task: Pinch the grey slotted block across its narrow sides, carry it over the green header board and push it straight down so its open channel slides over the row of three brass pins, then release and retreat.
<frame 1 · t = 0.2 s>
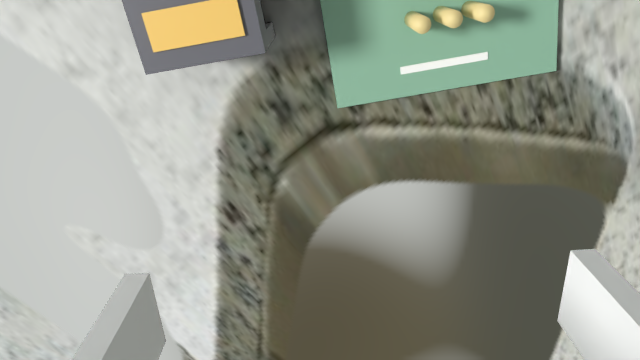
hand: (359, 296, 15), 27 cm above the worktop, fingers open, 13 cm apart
grey slotted block: (218, 12, 37), on the worktop
header board: (438, 13, 37), on the worktop
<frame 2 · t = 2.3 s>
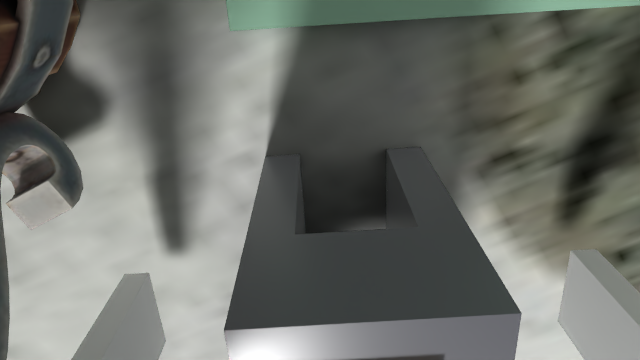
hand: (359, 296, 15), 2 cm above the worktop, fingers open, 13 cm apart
grey slotted block: (347, 256, 17), on the worktop
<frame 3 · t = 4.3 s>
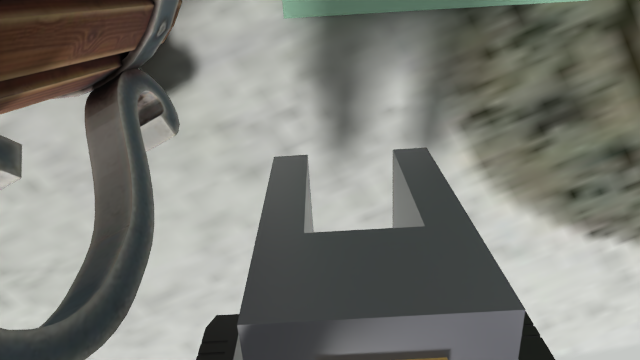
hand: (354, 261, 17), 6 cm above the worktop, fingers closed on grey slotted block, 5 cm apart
grey slotted block: (353, 255, 17), point 6 cm above the worktop, touching gripper
mug: (101, 10, 20), on the worktop
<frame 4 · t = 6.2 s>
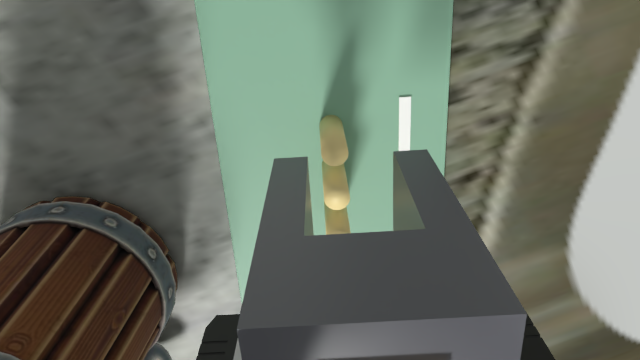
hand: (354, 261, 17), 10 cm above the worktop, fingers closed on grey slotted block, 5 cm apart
grey slotted block: (354, 257, 17), point 10 cm above the worktop, touching gripper
mug: (120, 297, 29), on the worktop
header board: (332, 161, 26), on the worktop
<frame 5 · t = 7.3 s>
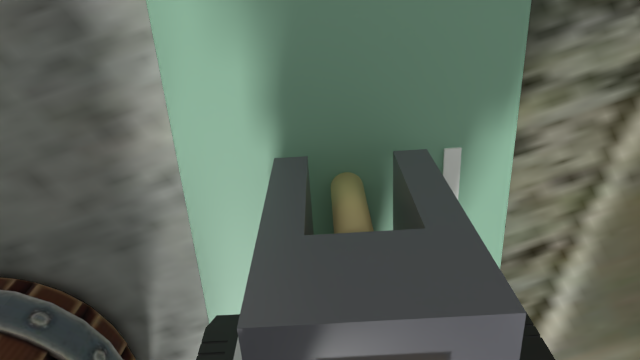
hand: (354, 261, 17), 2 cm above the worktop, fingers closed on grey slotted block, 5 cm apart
grey slotted block: (354, 256, 17), point 2 cm above the worktop, touching gripper
header board: (347, 230, 19), on the worktop
when the fingers open (2 cm above the worktop, at t = 8.3 s): grey slotted block stays where it is, resting on header board.
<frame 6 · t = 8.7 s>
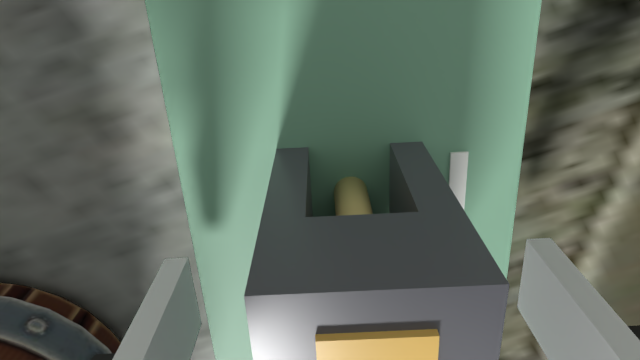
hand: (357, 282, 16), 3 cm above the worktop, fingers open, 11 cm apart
grey slotted block: (351, 244, 18), point 1 cm above the worktop, touching header board
header board: (351, 236, 18), on the worktop
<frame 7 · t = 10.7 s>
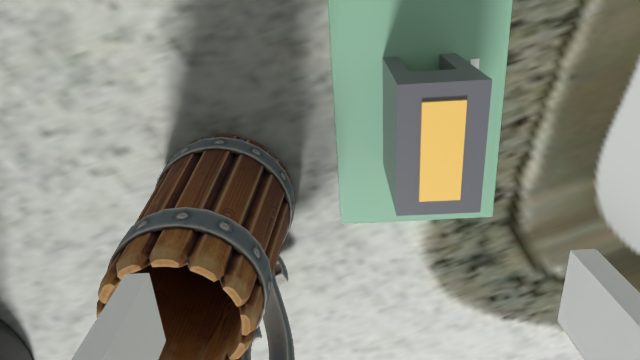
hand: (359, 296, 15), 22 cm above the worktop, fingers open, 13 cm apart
grey slotted block: (417, 111, 34), point 1 cm above the worktop, touching header board
mug: (248, 216, 39), on the worktop
header board: (416, 109, 35), on the worktop
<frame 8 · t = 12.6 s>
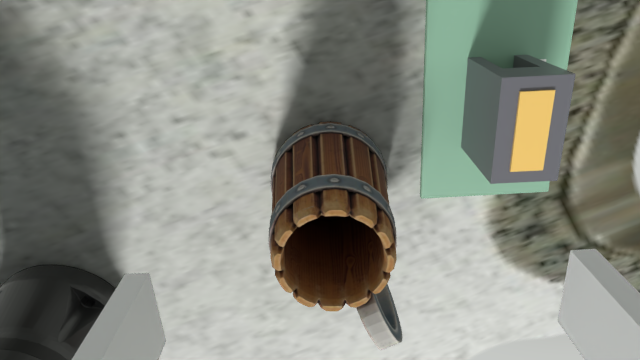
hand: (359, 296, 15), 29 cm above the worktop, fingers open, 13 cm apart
grey slotted block: (492, 102, 41), point 1 cm above the worktop, touching header board
mug: (340, 192, 46), on the worktop
header board: (490, 100, 42), on the worktop
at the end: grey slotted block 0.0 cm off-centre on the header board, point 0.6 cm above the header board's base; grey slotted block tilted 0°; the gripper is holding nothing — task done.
